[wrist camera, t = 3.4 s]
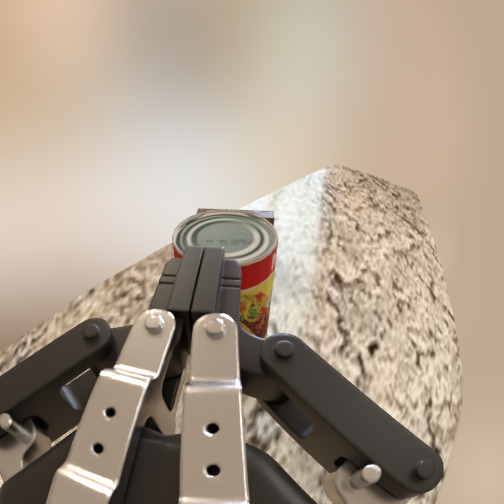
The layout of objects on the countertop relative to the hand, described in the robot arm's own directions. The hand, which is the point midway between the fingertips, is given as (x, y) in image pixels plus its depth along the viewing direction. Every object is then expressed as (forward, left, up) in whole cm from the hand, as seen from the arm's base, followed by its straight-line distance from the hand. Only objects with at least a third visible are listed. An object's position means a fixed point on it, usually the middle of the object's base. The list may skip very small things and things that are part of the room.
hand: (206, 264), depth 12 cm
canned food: (-2, +9, -16) cm, 18 cm away
